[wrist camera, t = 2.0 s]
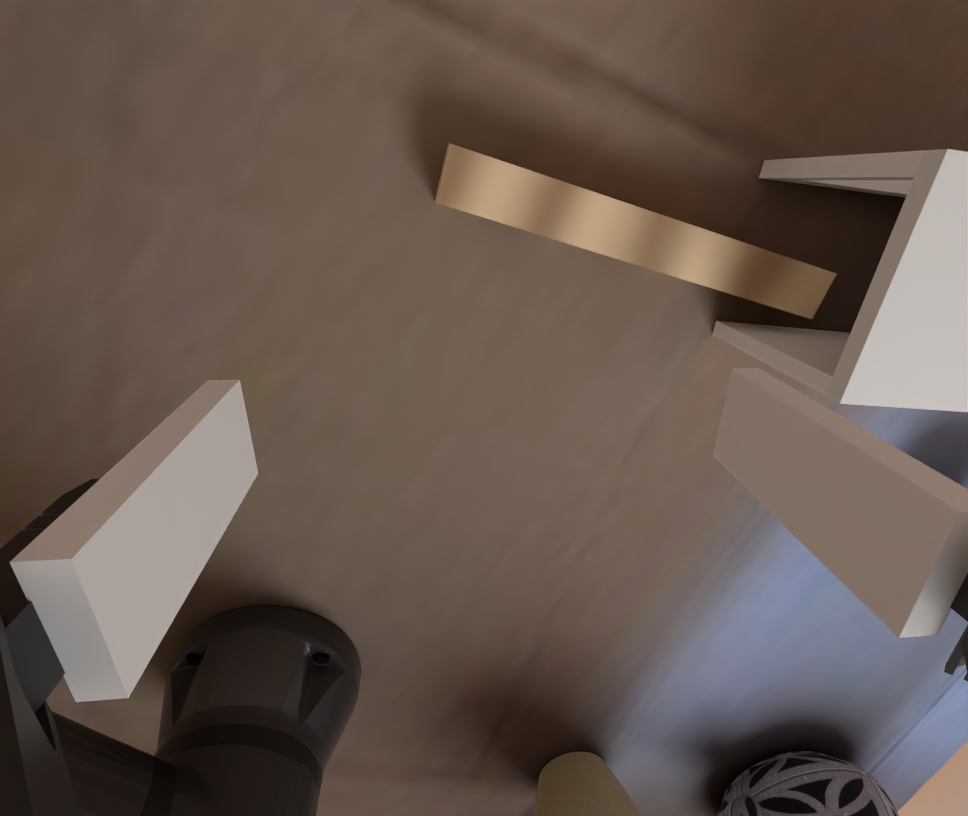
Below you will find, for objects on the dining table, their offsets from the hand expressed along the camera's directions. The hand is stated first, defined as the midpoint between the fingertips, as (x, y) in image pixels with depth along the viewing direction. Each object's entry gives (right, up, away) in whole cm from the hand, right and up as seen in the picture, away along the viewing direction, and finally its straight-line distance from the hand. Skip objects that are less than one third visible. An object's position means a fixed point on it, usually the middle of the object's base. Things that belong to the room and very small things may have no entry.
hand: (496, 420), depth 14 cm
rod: (+9, +11, +19) cm, 24 cm away
